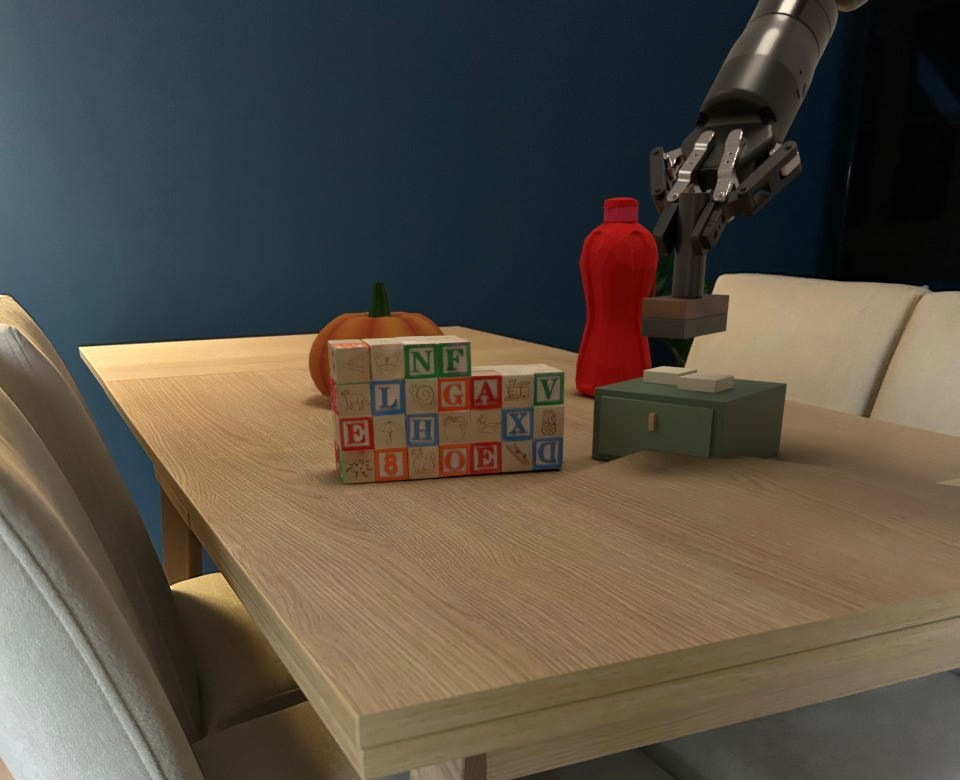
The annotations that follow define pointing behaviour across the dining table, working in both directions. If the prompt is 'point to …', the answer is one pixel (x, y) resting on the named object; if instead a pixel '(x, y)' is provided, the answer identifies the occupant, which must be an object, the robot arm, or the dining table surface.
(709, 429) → the cabinet
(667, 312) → the brush
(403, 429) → the stack of blocks
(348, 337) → the pumpkin
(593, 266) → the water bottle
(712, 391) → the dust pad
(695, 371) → the block
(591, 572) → the dining table surface
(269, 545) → the dining table surface
